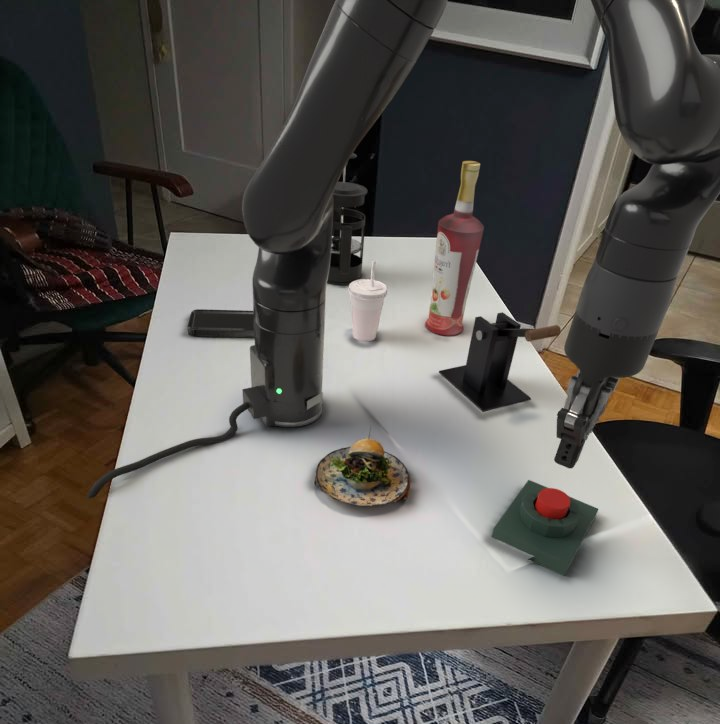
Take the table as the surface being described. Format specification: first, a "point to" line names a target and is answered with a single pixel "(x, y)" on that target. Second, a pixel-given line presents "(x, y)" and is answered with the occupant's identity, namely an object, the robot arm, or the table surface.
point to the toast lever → (526, 332)
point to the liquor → (455, 258)
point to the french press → (346, 233)
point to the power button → (552, 503)
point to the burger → (363, 475)
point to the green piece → (544, 529)
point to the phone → (221, 323)
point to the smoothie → (366, 306)
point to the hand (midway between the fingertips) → (565, 462)
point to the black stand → (488, 367)
